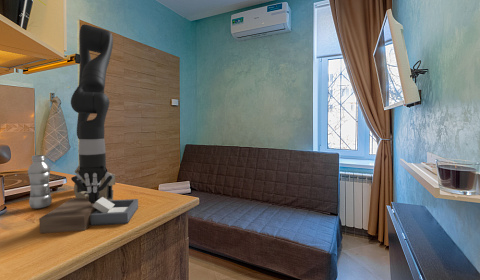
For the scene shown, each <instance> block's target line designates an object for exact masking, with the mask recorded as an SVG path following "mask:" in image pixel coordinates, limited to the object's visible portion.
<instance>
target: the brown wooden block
mask: <svg viewBox="0 0 480 280" xmlns="http://www.w3.org/2000/svg"><path fill="white" fill-rule="evenodd" d="M100 198H102V197H100ZM104 198H105V199H107V197H104ZM93 205H94V204H91V202H89V198H76V197H75V198H70V199H68V200H67V201H65V202H64V203H62V204H61V205H59V206H57V207H55V208H54V209H52V210H51V211H49V212H48V213H46V214H44V215H43V216H41V217H39V220H38V221H39V233H40V234H49V233H51V234H52V233H63V232H64V233H65V232H77V231H78V232H79V231H86V230H87V229H88V228H89V227H90V226H91V219H90V215H91V214H92V213H93V212H94V211H96V210H97V209H96V208H94V207H93Z"/></svg>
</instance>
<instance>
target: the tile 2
mask: <svg viewBox="0 0 480 280" xmlns="http://www.w3.org/2000/svg"><path fill="white" fill-rule="evenodd" d="M127 208H128V207H114V208H112V209H111V210H110V211H109V212H108V213H113V212H125V211H126V209H127Z"/></svg>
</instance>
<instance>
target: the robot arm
mask: <svg viewBox="0 0 480 280" xmlns="http://www.w3.org/2000/svg"><path fill="white" fill-rule="evenodd" d="M78 37H79V41H78V42H79V79H78V86H77V87H76V88H75V90H74V91H73V93H72V96H71V97H70V105H71V108H72V110H73V111H74V112H76V113H77V114H78V115H77V122H76V136H77V139H78V140H79V142H78V159H79V160H78V162H79V164H78V166H80V170H79V171H78V174H76V175H74V176H72V177H71V178H70V180H71V181H72V183H74V184H76V185H77V186H78V187H79V188H80V189H81V190H82V191H86V192H88V194H89V202H91V204H94V203H95V202H96V201H97V200H99V199H100V195H99V192H100V191H102V190H103V189H105V188H106V186H107V185H108V184H109V183H110V181H111V180H112V179H113V178H114V175H113V174H114V173H112V175H111V174H110V173H111V172H109V170H108V169H107V157H106V154H107V153H106V151H107V150H106V142H105V141H106V140H105V123H106V118H107V117H106V116H107V115H108V114H107V113H108V110H109V107H110V99H109V96H108V95H107V94H106V93H105V87H106V78H107V71H108V66H109V64H110V60H111V55H112V51H113V45H114V37H113V34H112V32H111V31H109V30H107V29H103V28H100V27H96V26H92V25H89V24H85V23H84V24H81V25H80V29H79V36H78ZM90 52H93V53H97V54H98V55H97V56H95V57H94V58H93V59H92V57H91V53H90ZM91 114H92V115H93V114H95V115H96V116H95V118H93V119H88V118H89V117H90V115H91ZM108 172H109V173H108ZM104 176H105V179H106V180H105V181H104V183H103V184H102V185H101V186H100V184H101V180H102V179H103V178H104ZM82 178H83V180H84V181H85V182H86V183H85V182H84V181H83V180H82Z"/></svg>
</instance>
